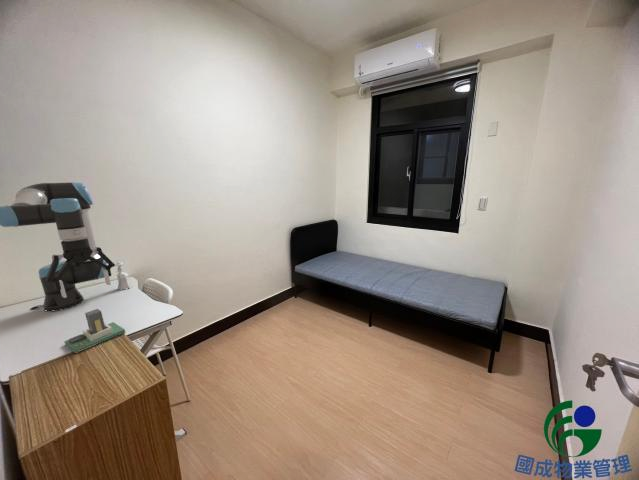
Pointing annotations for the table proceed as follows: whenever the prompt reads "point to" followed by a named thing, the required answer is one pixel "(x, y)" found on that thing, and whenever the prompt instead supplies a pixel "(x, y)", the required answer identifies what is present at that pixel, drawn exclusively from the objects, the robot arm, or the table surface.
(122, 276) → the figurine
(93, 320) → the plug
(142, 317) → the table surface
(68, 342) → the board
